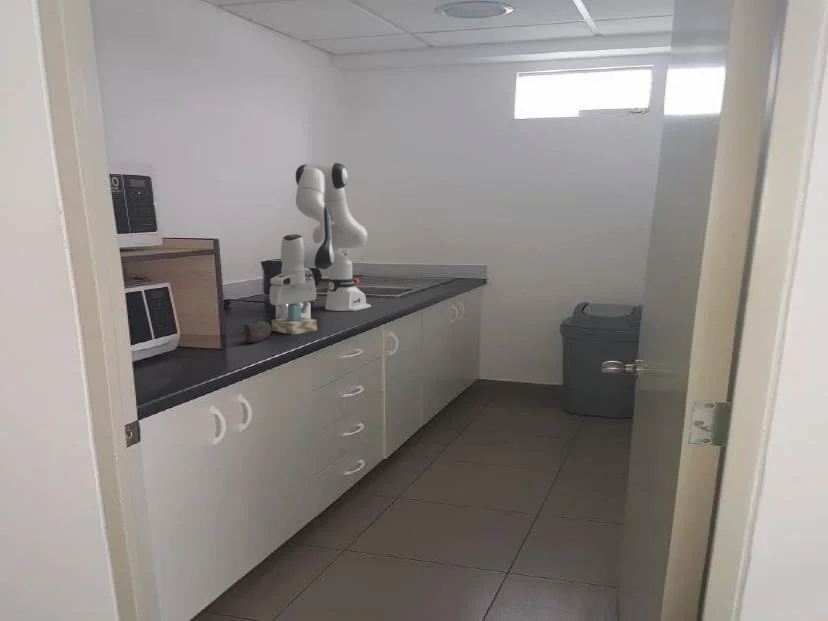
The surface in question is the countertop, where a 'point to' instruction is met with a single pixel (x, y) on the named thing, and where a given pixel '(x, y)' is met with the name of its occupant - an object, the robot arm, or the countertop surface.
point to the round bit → (278, 312)
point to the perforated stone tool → (256, 331)
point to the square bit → (294, 312)
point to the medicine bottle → (308, 313)
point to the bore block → (294, 325)
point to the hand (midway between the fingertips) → (294, 314)
